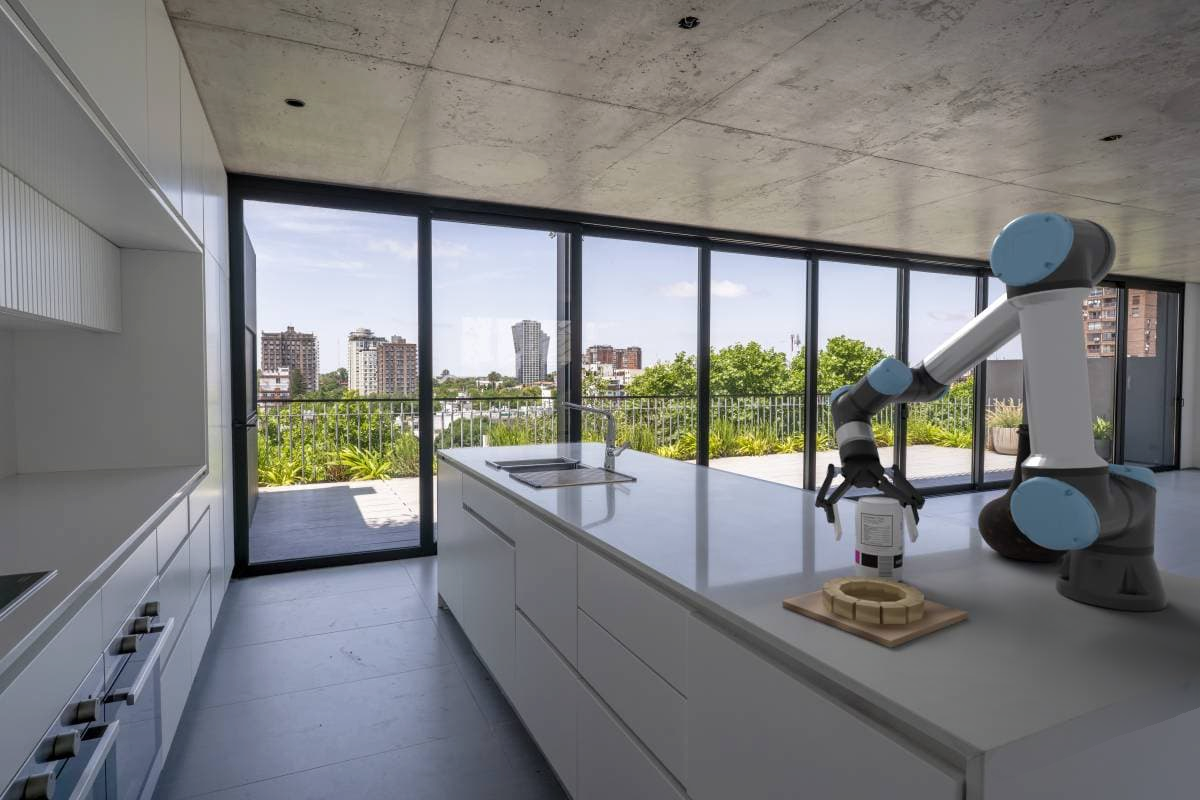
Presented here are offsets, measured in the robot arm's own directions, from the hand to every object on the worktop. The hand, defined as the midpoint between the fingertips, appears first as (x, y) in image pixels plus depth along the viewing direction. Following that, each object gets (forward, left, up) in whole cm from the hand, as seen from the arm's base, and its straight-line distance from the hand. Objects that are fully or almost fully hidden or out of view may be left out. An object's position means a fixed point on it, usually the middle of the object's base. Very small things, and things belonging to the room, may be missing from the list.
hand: (876, 537), depth 125 cm
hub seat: (-10, +16, -8) cm, 20 cm away
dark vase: (-8, -39, -8) cm, 41 cm away
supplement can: (0, 0, -8) cm, 8 cm away
